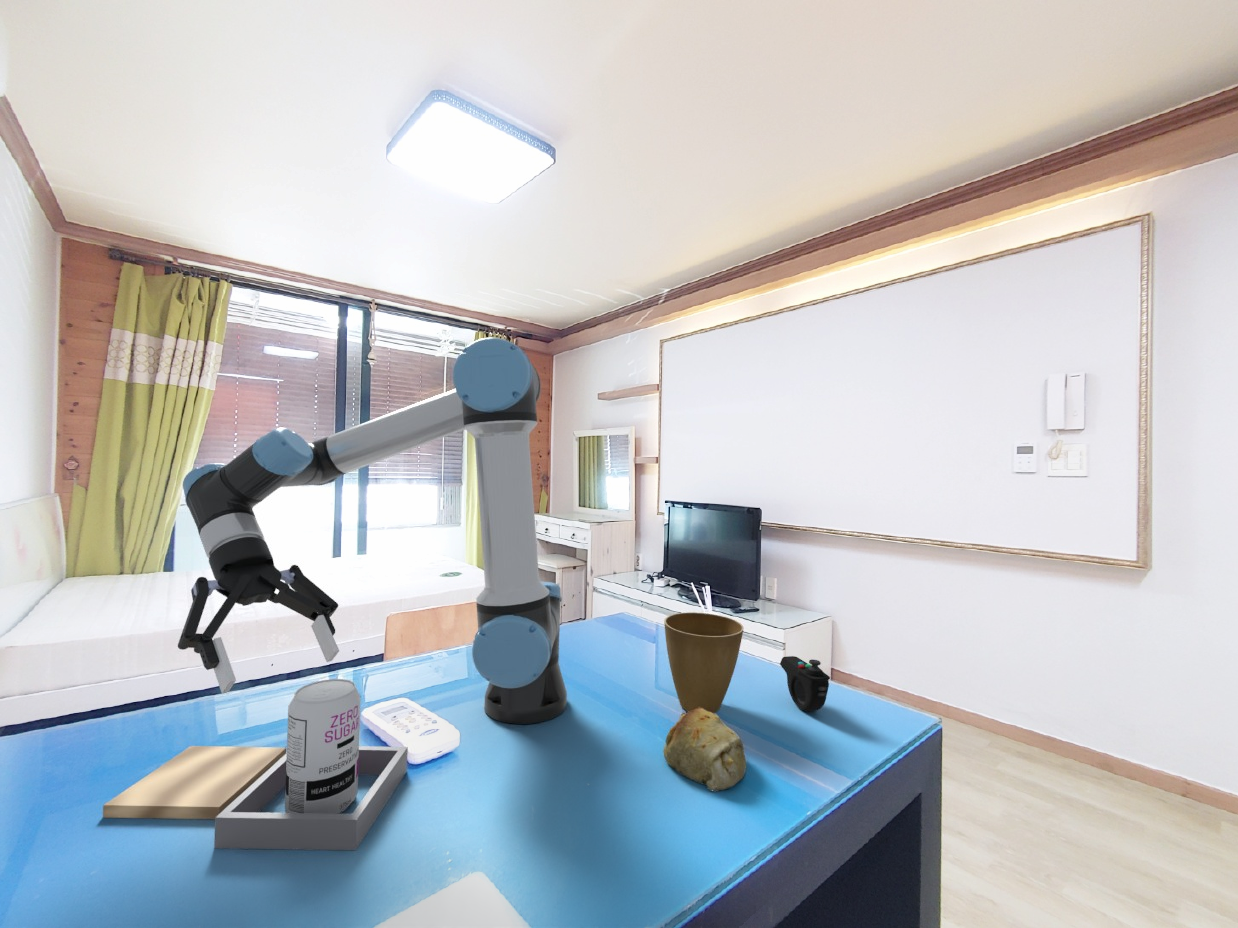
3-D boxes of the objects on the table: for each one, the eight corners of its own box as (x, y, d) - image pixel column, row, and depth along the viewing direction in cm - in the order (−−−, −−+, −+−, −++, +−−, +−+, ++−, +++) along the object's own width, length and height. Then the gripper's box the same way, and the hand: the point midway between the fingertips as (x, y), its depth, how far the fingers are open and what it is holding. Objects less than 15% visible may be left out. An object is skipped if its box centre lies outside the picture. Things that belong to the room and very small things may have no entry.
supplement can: (304, 787, 73) (308, 677, 73) (366, 785, 74) (370, 677, 74) (270, 827, 65) (275, 703, 65) (341, 825, 66) (345, 703, 66)
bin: (406, 771, 78) (407, 746, 78) (355, 849, 62) (356, 819, 62) (294, 769, 77) (295, 744, 77) (214, 848, 61) (215, 817, 61)
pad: (286, 757, 80) (286, 747, 80) (218, 818, 66) (219, 806, 66) (190, 755, 80) (190, 745, 80) (102, 817, 66) (103, 805, 66)
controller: (811, 722, 97) (813, 667, 97) (776, 693, 109) (777, 644, 109) (832, 720, 98) (834, 665, 98) (795, 692, 110) (796, 643, 110)
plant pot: (651, 715, 98) (654, 627, 98) (674, 685, 112) (676, 608, 112) (733, 732, 92) (736, 639, 92) (746, 699, 106) (749, 618, 106)
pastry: (660, 740, 89) (662, 692, 89) (736, 743, 89) (737, 695, 89) (666, 791, 75) (668, 734, 75) (755, 795, 75) (757, 738, 75)
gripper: (309, 555, 94) (357, 659, 86) (124, 577, 73) (164, 718, 65) (328, 527, 92) (379, 632, 84) (140, 543, 70) (184, 685, 62)
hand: (285, 670), depth 74 cm, fingers open, 13 cm apart
